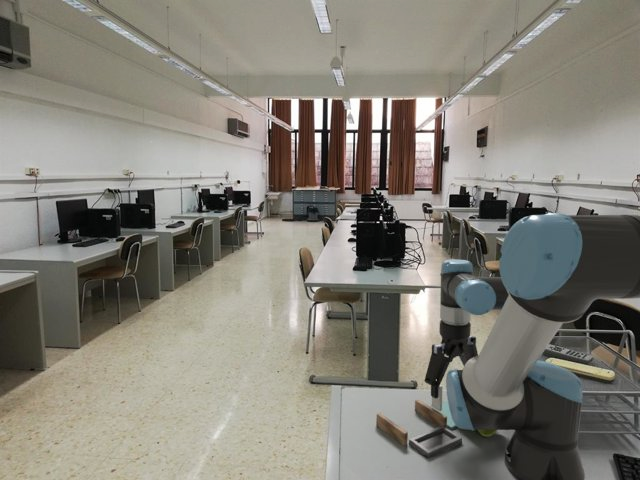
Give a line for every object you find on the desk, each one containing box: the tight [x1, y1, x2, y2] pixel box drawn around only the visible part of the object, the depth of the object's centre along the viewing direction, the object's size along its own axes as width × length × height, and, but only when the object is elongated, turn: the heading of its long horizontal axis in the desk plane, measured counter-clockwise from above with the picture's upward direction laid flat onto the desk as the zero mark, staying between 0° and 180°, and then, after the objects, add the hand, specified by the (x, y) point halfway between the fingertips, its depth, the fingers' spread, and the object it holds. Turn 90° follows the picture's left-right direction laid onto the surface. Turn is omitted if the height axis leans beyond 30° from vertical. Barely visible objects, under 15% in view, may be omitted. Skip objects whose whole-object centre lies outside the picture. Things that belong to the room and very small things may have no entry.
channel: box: [376, 399, 448, 447], centre depth 106 cm, size 10×14×3 cm
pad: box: [429, 401, 458, 431], centre depth 112 cm, size 10×10×1 cm
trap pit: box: [408, 425, 463, 459], centre depth 99 cm, size 6×11×1 cm, turn 122°
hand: (452, 402), depth 112 cm, fingers open, 11 cm apart
